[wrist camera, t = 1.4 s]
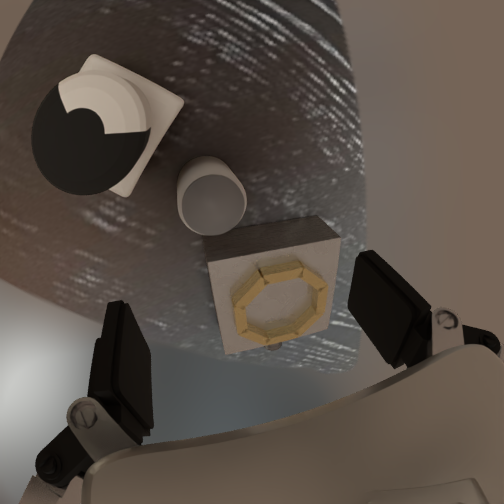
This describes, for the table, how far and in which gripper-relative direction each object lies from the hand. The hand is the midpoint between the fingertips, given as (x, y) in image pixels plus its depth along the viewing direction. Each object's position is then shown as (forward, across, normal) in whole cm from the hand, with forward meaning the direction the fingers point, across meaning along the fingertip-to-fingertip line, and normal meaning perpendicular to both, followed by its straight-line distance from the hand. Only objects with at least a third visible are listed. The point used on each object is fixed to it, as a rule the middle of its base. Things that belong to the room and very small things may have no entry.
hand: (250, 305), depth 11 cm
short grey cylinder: (+16, 0, 0) cm, 16 cm away
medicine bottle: (+16, +6, -7) cm, 19 cm away
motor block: (+16, -5, +12) cm, 21 cm away
